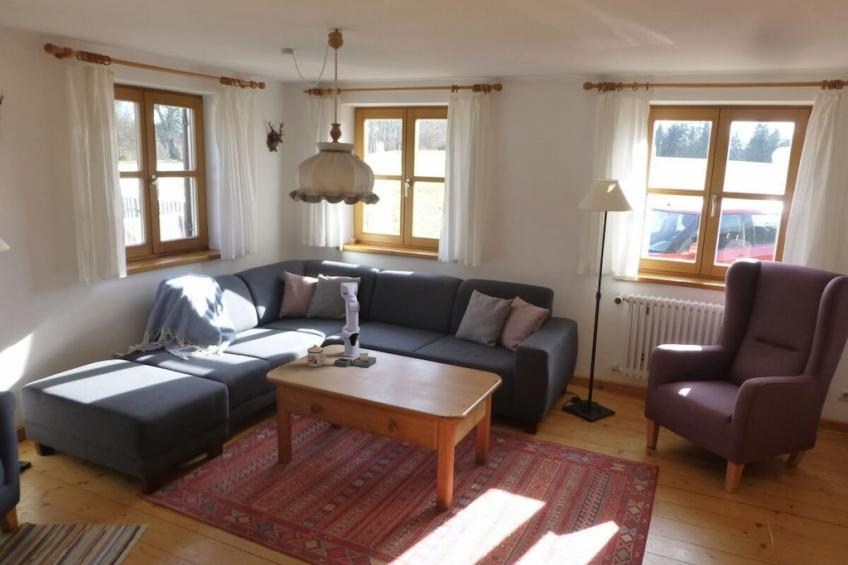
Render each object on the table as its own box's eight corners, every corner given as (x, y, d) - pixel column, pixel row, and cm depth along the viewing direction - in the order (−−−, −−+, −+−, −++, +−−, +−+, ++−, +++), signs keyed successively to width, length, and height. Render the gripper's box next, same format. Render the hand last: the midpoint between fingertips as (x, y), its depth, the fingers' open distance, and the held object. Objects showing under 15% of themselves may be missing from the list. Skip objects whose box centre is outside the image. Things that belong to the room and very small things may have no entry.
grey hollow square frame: (340, 361, 359) (340, 357, 359) (352, 363, 356) (352, 359, 356) (334, 365, 353) (334, 361, 352) (346, 367, 350) (346, 362, 349)
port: (360, 360, 363) (360, 354, 362) (376, 362, 359) (376, 357, 358) (352, 365, 353) (352, 359, 353) (368, 367, 350) (368, 362, 349)
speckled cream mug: (304, 365, 352) (303, 345, 349) (314, 361, 359) (314, 341, 357) (320, 369, 346) (320, 349, 344) (330, 364, 354) (330, 345, 351)
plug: (360, 363, 358) (360, 351, 356) (368, 363, 358) (368, 351, 356) (360, 364, 355) (360, 353, 353) (367, 364, 355) (368, 353, 354)
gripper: (352, 319, 361) (352, 341, 364) (341, 325, 348) (341, 348, 350) (363, 320, 359) (363, 342, 362) (352, 326, 345) (352, 349, 348)
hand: (353, 345), depth 356 cm, fingers closed
